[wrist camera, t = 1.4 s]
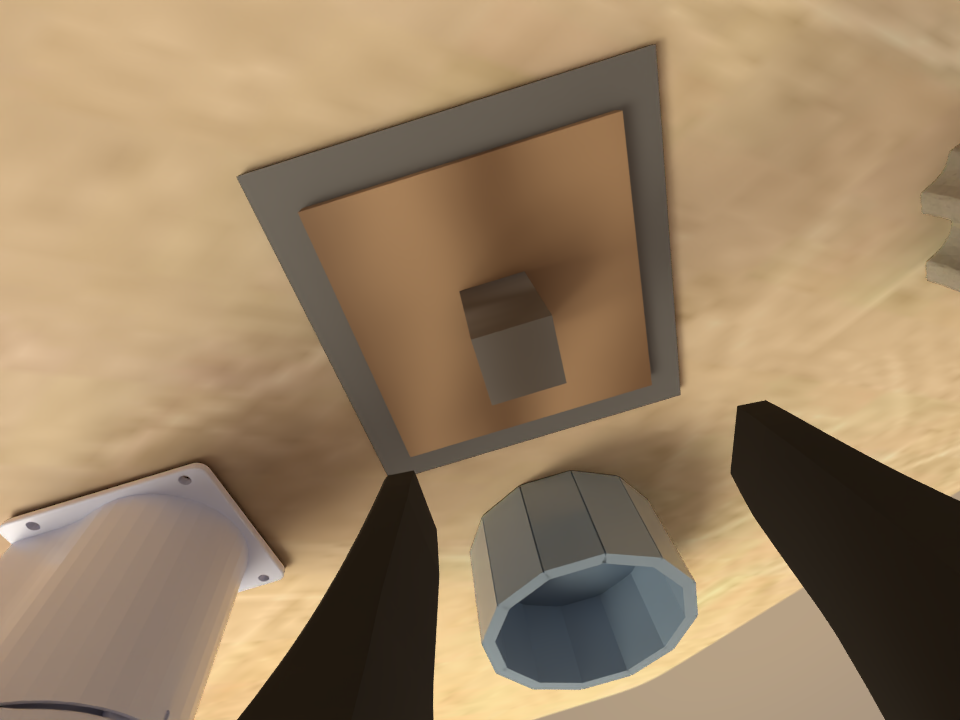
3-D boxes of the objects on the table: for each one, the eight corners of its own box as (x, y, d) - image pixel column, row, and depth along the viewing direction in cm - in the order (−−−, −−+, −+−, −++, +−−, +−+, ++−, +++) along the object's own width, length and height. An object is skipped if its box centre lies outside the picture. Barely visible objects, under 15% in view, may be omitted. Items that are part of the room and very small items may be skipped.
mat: (390, 475, 23) (390, 481, 23) (240, 175, 16) (236, 176, 16) (676, 390, 23) (680, 394, 22) (650, 45, 16) (655, 44, 15)
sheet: (410, 448, 22) (410, 529, 18) (301, 208, 16) (265, 246, 12) (646, 377, 22) (699, 443, 18) (615, 109, 16) (683, 116, 12)
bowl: (498, 617, 29) (513, 709, 25) (449, 506, 24) (458, 596, 20) (657, 571, 29) (700, 655, 25) (641, 449, 24) (691, 528, 20)
